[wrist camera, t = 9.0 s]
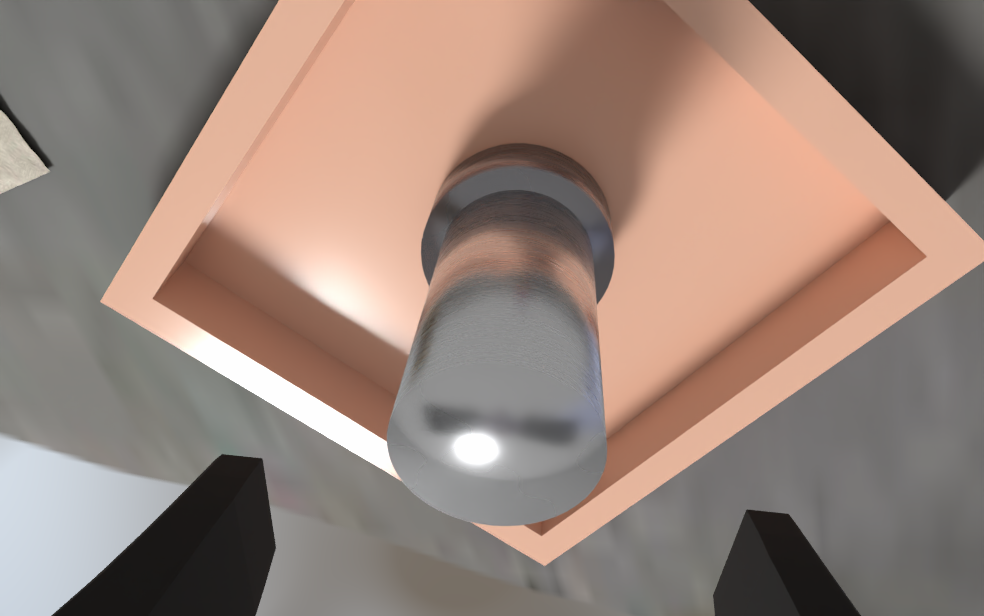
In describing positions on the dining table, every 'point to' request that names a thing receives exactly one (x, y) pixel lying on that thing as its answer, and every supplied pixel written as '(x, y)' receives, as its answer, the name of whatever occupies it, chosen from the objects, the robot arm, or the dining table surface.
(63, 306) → the dining table surface
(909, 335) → the dining table surface
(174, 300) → the dish
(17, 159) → the condiment
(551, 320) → the grey cylinder
